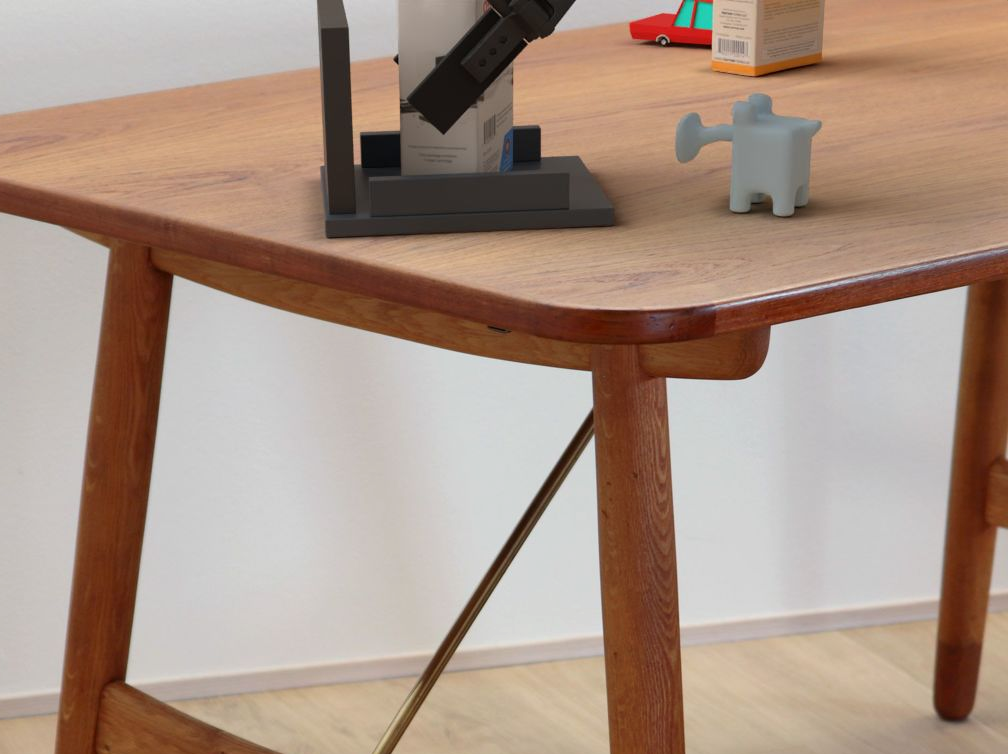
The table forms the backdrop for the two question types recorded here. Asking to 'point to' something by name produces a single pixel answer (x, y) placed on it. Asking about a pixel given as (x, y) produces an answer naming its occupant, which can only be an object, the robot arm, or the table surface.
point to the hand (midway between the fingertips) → (416, 95)
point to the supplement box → (766, 35)
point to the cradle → (438, 197)
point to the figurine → (757, 153)
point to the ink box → (483, 127)
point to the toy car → (678, 24)
